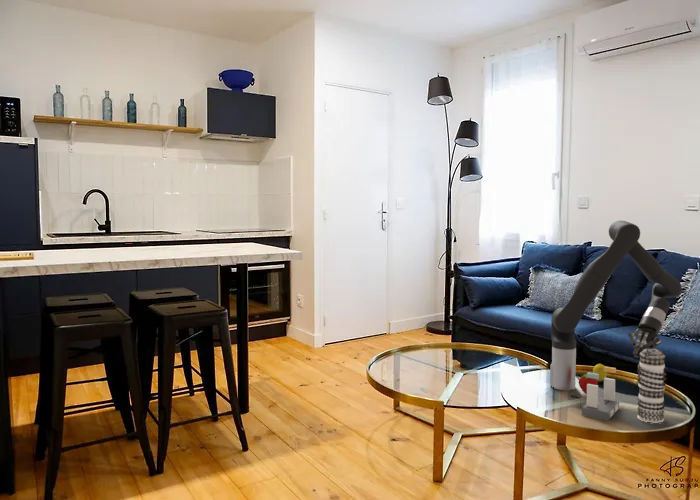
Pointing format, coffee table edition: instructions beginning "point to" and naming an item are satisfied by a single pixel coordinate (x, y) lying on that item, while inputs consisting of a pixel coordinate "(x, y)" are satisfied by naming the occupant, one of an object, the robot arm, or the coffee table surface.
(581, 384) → the strawberry
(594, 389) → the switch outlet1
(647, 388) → the patterned cylindrical tower
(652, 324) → the robot arm
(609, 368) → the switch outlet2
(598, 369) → the lemon
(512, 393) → the coffee table surface
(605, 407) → the power strip
